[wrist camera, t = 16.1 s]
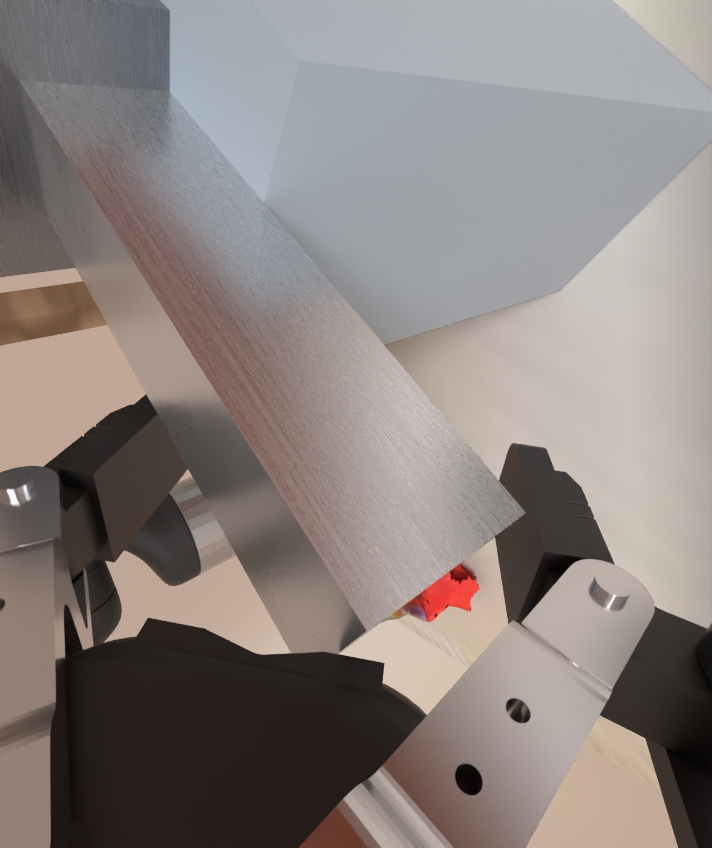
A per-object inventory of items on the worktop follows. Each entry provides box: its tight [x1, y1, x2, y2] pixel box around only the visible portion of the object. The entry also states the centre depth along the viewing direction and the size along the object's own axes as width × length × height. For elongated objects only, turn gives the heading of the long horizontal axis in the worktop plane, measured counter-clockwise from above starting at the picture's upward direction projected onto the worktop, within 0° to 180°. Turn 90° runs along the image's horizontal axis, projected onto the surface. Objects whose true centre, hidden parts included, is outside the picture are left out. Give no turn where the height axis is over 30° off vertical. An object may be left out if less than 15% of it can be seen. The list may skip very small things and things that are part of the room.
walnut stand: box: [0, 282, 107, 345], centre depth 30 cm, size 11×10×32 cm
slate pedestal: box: [160, 0, 712, 345], centre depth 19 cm, size 10×12×21 cm
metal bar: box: [0, 0, 526, 654], centre depth 9 cm, size 6×18×6 cm, turn 60°
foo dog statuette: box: [382, 564, 480, 622], centre depth 42 cm, size 8×10×12 cm
